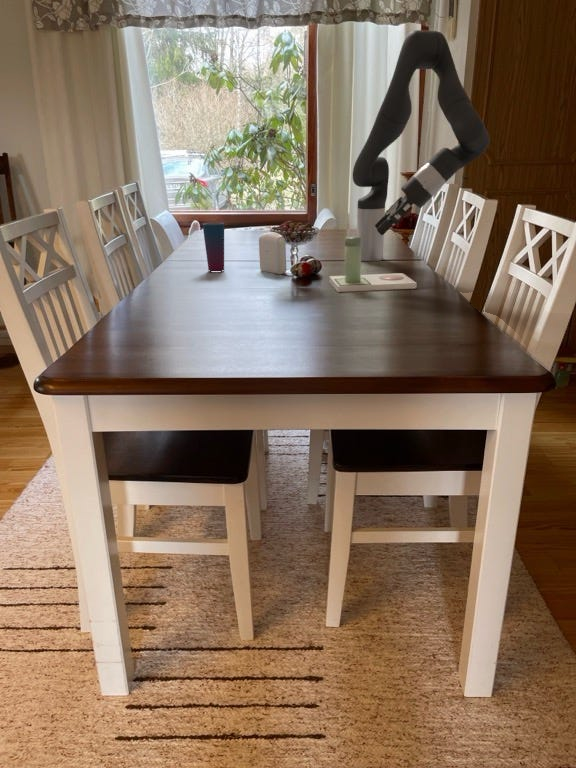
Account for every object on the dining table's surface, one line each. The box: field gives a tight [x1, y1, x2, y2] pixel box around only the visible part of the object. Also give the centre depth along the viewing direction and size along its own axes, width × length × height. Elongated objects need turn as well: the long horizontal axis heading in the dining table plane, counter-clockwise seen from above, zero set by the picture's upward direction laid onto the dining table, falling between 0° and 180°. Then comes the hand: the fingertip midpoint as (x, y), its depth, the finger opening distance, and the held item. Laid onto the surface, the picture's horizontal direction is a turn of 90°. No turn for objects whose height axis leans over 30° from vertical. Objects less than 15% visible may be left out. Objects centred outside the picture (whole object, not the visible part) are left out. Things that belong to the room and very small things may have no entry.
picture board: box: [328, 272, 418, 293], centre depth 172 cm, size 14×22×2 cm, turn 96°
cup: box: [202, 221, 225, 271], centre depth 193 cm, size 7×7×15 cm
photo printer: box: [258, 231, 287, 275], centre depth 191 cm, size 10×4×12 cm, turn 39°
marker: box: [344, 236, 362, 283], centre depth 167 cm, size 4×4×12 cm
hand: (378, 230), depth 164 cm, fingers open, 8 cm apart
